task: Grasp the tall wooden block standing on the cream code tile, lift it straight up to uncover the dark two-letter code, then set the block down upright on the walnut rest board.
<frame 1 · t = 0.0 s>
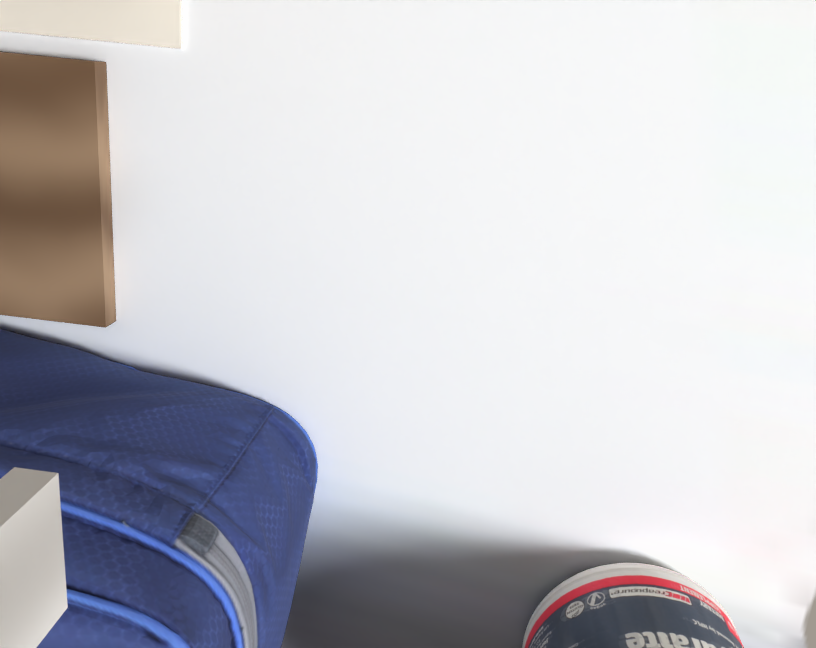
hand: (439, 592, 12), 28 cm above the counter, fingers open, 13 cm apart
lunch bag: (94, 494, 46), on the counter
supplement tub: (622, 635, 46), on the counter
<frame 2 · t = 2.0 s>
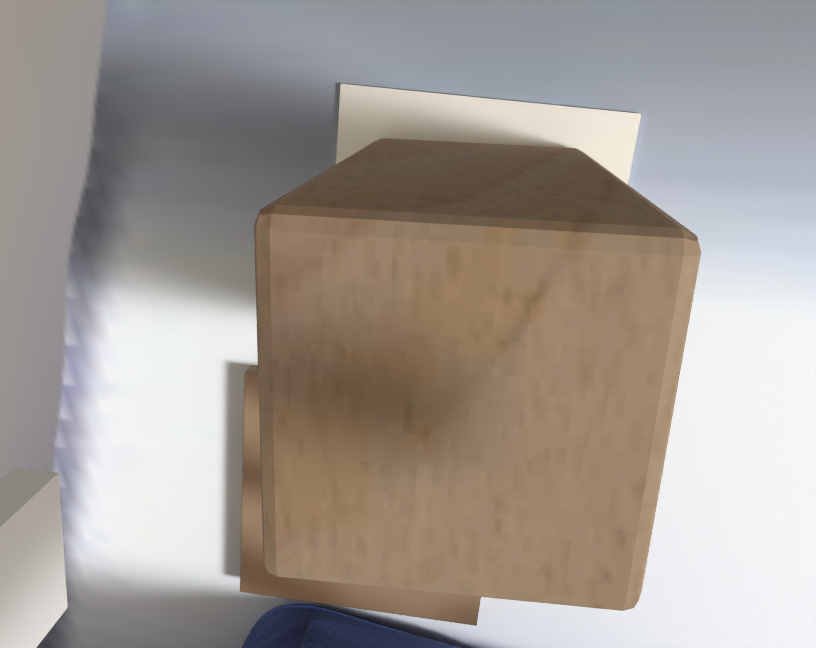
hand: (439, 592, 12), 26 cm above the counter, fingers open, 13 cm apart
rest board: (369, 493, 42), on the counter
wooden block: (470, 244, 36), resting on code tile
code tile: (470, 244, 36), on the counter
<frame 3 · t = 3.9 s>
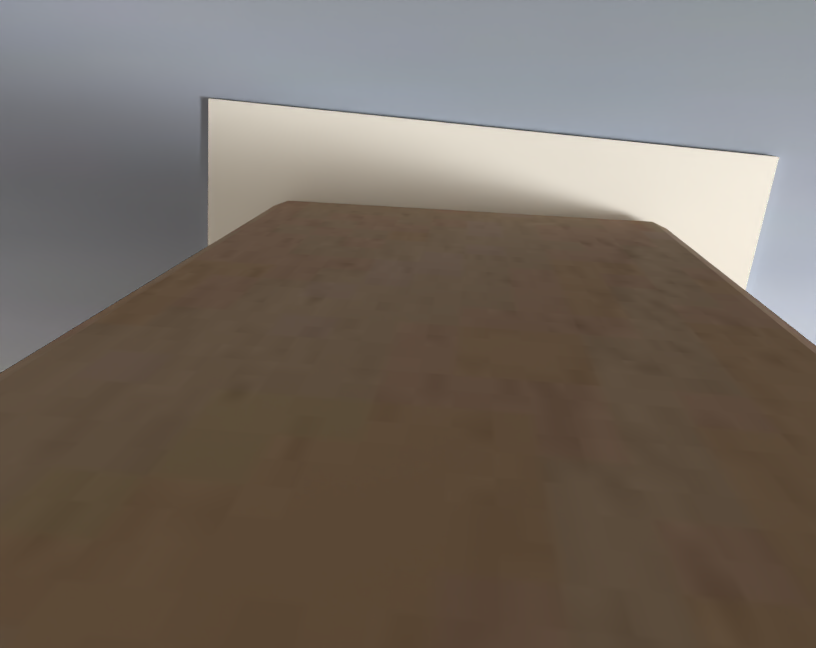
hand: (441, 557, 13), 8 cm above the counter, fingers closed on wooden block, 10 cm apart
wooden block: (455, 385, 20), resting on code tile, touching gripper
code tile: (455, 385, 20), on the counter
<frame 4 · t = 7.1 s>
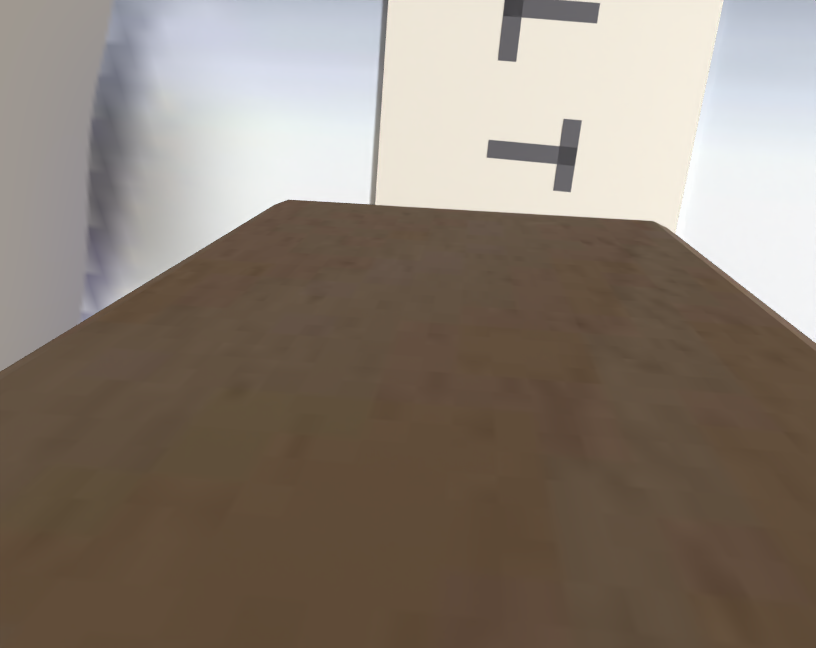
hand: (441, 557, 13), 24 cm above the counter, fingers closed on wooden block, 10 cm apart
wooden block: (455, 385, 20), point 16 cm above the counter, touching gripper
code tile: (539, 95, 33), on the counter
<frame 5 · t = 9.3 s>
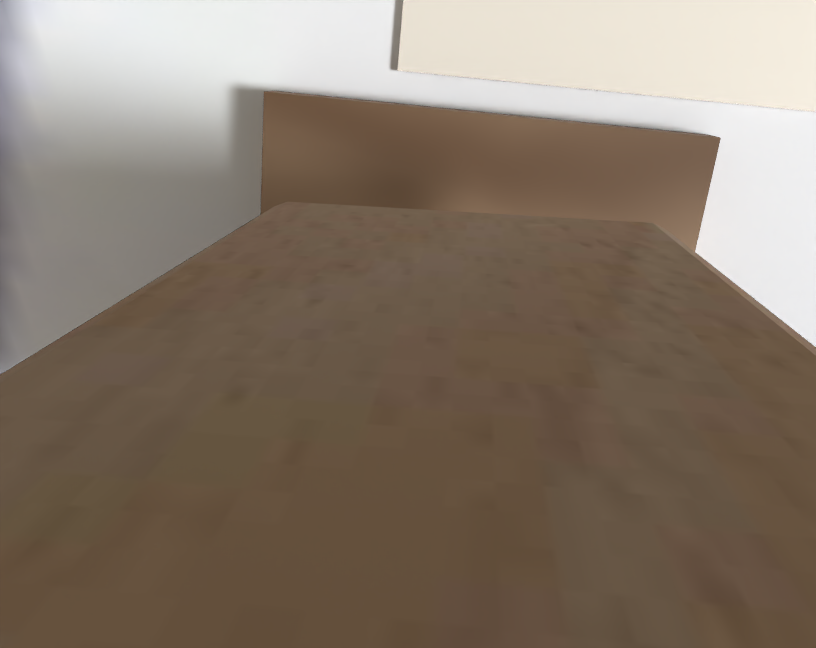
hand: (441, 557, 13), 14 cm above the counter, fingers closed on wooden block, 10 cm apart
rest board: (462, 317, 26), on the counter
wooden block: (454, 387, 20), point 6 cm above the counter, touching gripper
when the fingers open (10 cm above the counter, at t = 10.6 s): wooden block drops 1 cm, resting on rest board.
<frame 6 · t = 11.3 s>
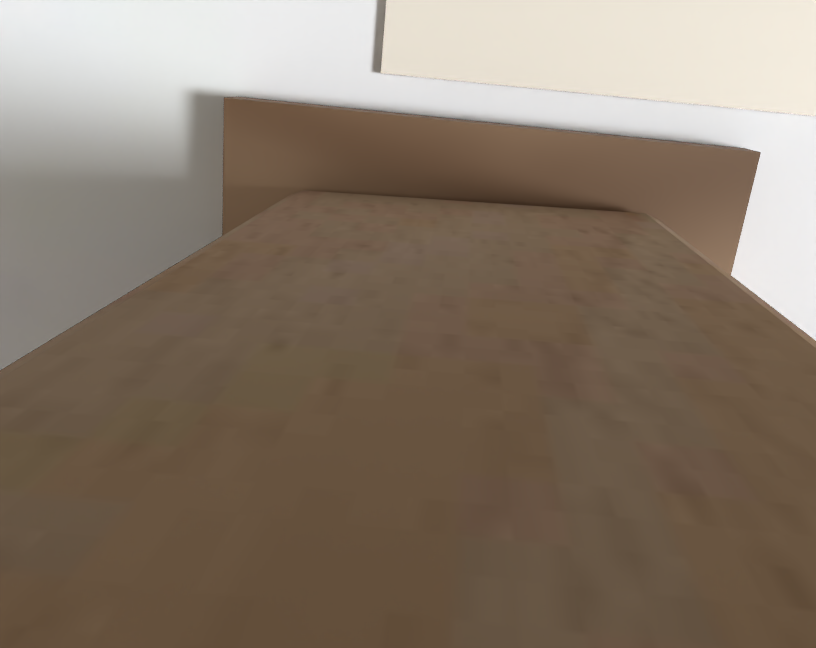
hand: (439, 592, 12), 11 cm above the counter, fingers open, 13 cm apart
rest board: (457, 357, 22), on the counter
wooden block: (458, 368, 21), point 1 cm above the counter, touching rest board
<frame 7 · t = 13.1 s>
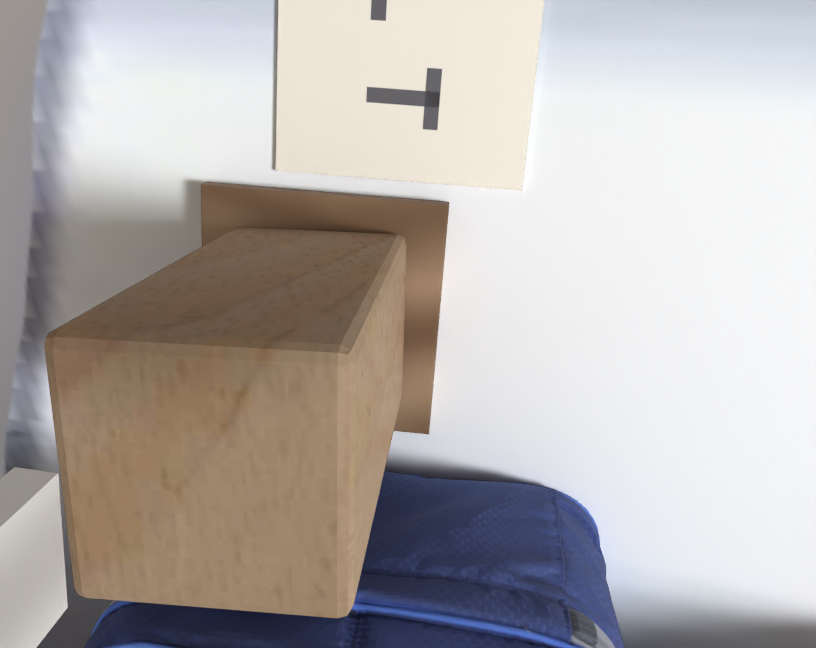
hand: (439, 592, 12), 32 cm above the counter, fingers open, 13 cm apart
rest board: (323, 308, 44), on the counter
lunch bag: (386, 594, 50), on the counter
wooden block: (320, 312, 43), point 1 cm above the counter, touching rest board
code tile: (406, 48, 39), on the counter
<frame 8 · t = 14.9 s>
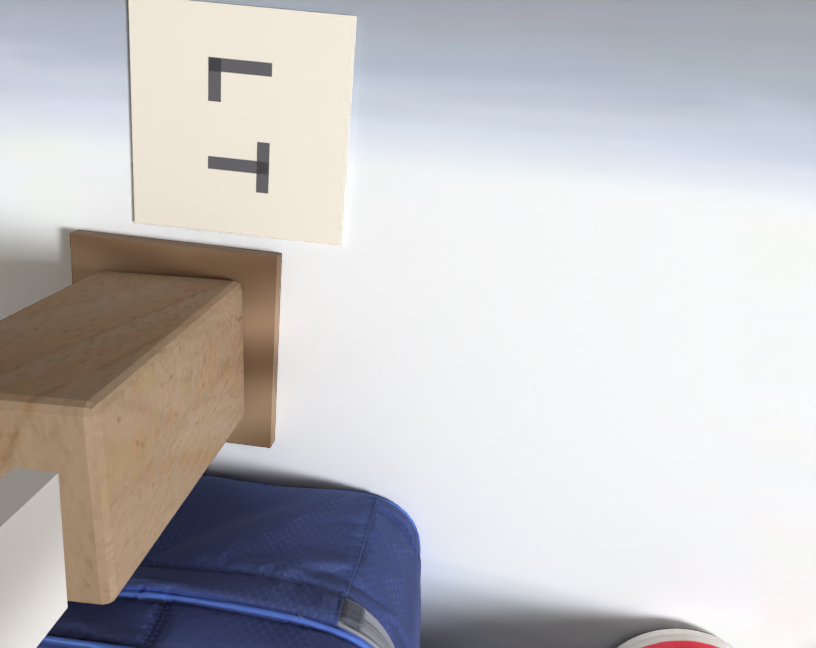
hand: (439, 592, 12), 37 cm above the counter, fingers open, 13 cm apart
rest board: (180, 338, 51), on the counter
lunch bag: (246, 584, 58), on the counter
wooden block: (175, 343, 50), point 1 cm above the counter, touching rest board
code tile: (240, 125, 46), on the counter
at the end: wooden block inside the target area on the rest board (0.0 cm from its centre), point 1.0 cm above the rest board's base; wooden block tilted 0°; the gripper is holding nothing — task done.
